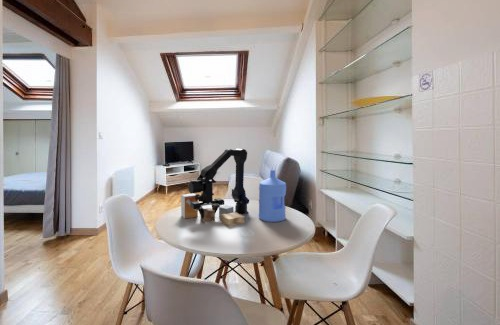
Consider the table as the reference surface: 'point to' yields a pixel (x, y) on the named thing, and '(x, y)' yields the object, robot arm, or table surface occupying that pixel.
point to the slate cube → (225, 209)
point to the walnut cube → (208, 215)
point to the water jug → (272, 199)
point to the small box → (188, 206)
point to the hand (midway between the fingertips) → (207, 218)
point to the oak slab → (231, 218)
